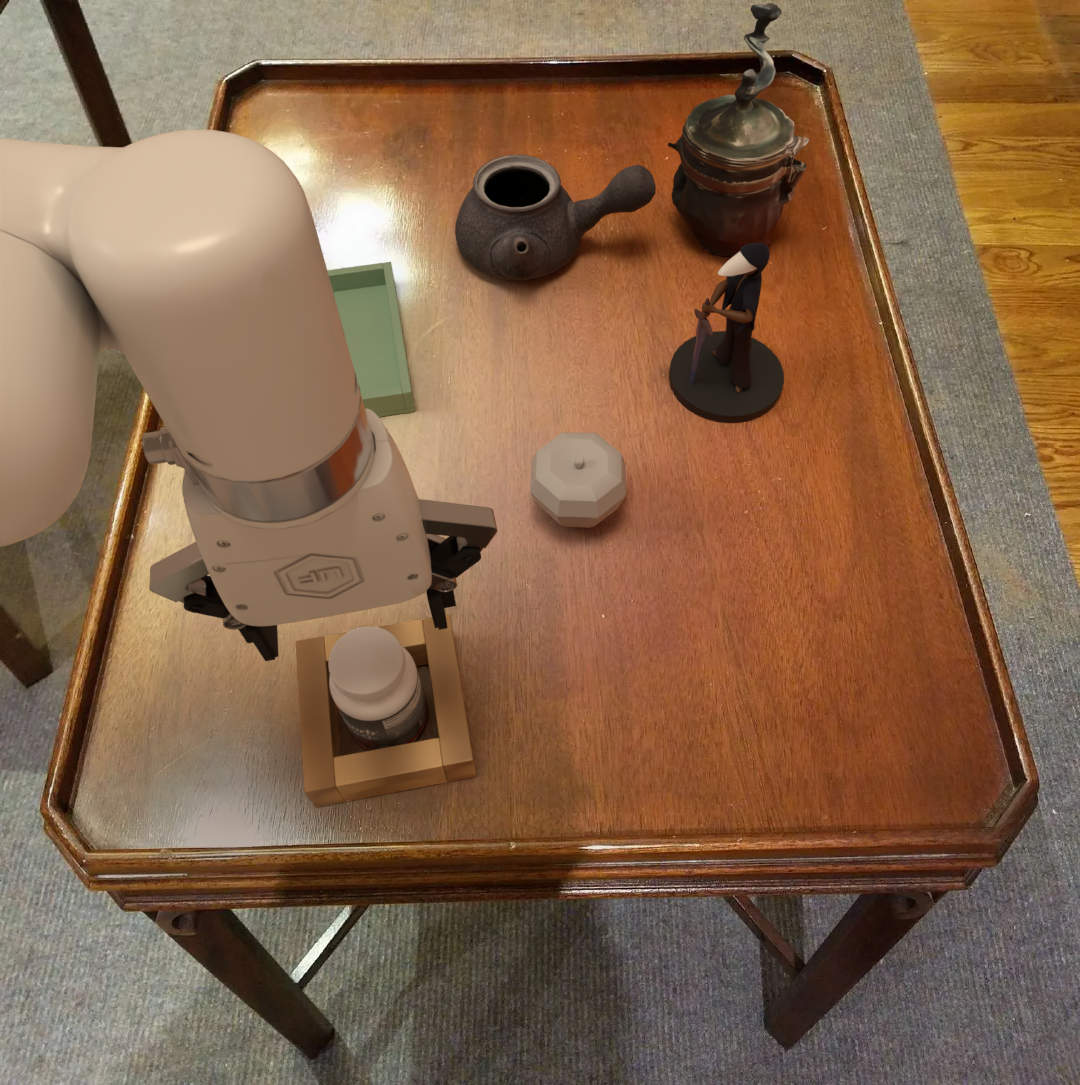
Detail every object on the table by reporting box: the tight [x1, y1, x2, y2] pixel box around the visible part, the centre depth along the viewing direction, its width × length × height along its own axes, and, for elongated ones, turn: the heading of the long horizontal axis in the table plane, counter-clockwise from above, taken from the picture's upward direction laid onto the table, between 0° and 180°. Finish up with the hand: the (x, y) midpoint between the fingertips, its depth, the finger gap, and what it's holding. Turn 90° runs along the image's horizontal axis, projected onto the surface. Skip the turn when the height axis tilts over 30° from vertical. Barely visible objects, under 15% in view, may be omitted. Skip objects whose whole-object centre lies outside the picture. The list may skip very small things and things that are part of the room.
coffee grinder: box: [667, 2, 810, 257], centre depth 86 cm, size 13×15×18 cm
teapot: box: [454, 154, 657, 281], centre depth 86 cm, size 19×15×10 cm
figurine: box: [668, 243, 785, 424], centre depth 75 cm, size 10×10×15 cm
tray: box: [327, 261, 416, 418], centre depth 83 cm, size 16×17×3 cm
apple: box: [529, 431, 627, 529], centre depth 72 cm, size 8×8×7 cm
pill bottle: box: [328, 625, 428, 751], centre depth 61 cm, size 6×6×10 cm
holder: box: [295, 614, 477, 808], centre depth 64 cm, size 11×11×4 cm
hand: (355, 622), depth 53 cm, fingers open, 9 cm apart
